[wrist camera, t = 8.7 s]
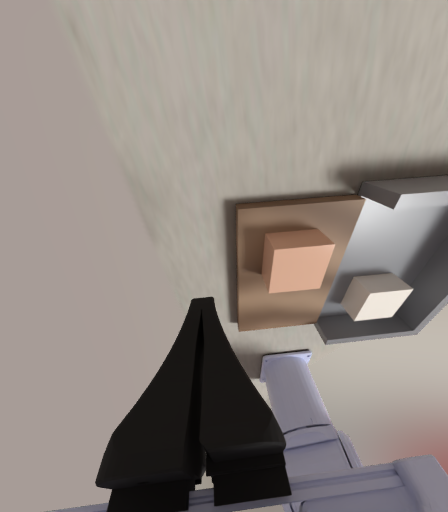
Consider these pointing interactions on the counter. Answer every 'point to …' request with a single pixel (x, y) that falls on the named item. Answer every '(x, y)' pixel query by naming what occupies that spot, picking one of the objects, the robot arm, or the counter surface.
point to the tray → (394, 257)
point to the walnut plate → (252, 247)
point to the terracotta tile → (295, 260)
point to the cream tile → (375, 296)
